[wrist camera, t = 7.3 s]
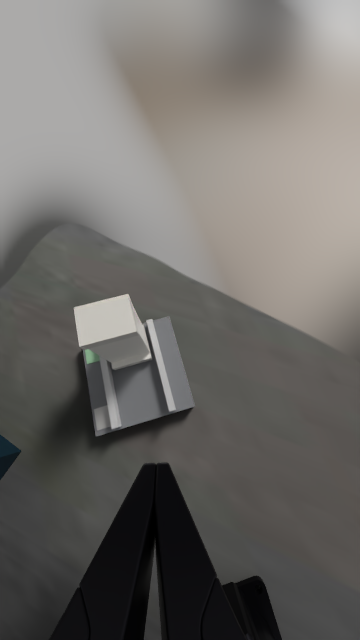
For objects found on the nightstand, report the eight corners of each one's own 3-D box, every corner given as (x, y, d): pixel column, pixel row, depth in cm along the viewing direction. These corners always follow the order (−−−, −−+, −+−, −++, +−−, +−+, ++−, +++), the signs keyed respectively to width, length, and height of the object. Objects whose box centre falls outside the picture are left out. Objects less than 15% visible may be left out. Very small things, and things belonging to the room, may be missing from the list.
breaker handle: (152, 359, 20) (137, 336, 13) (114, 370, 20) (80, 351, 13) (144, 327, 21) (127, 289, 14) (108, 336, 21) (73, 303, 14)
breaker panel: (194, 406, 20) (196, 406, 18) (101, 434, 20) (91, 438, 17) (169, 321, 23) (168, 312, 21) (87, 343, 22) (76, 336, 20)
